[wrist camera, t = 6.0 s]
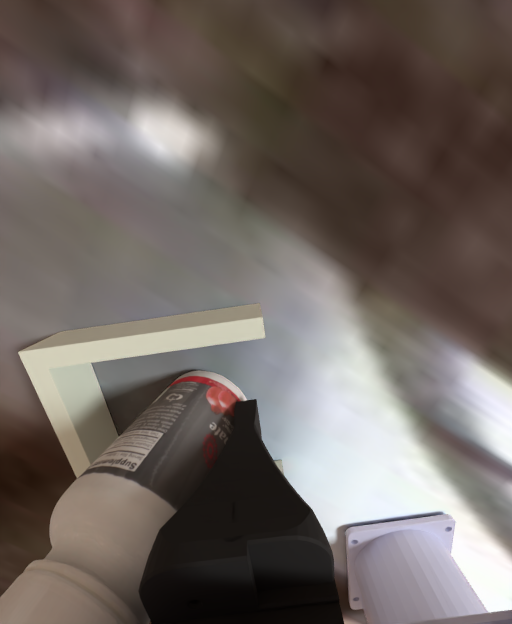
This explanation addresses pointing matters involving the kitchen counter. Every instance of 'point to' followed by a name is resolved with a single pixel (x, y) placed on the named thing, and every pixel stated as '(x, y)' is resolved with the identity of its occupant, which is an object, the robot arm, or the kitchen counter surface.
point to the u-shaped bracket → (114, 345)
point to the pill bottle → (125, 509)
